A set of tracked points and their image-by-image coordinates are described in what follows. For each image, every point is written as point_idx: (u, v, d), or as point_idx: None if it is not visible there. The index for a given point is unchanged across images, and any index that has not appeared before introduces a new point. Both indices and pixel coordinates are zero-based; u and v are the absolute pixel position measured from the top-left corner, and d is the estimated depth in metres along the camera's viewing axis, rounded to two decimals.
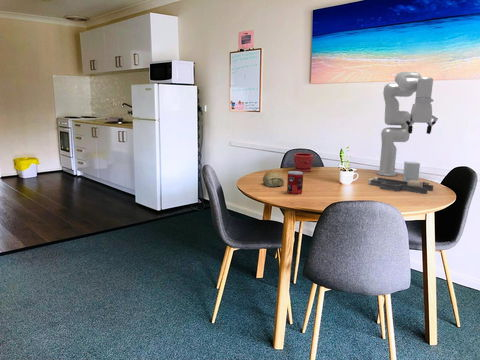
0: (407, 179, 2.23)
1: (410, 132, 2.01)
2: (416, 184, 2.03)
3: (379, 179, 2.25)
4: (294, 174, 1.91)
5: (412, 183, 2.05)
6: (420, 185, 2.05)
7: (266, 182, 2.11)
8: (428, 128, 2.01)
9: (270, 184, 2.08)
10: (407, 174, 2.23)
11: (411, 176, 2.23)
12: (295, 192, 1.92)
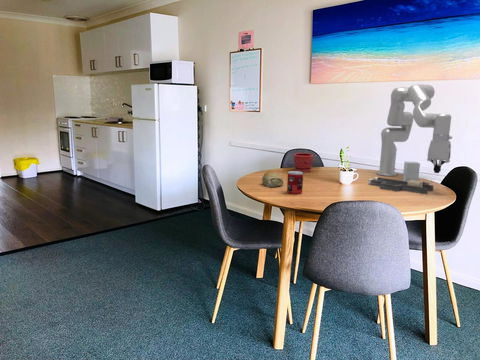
0: (407, 179, 2.23)
1: None
2: (416, 184, 2.03)
3: (379, 179, 2.25)
4: (294, 174, 1.91)
5: (412, 183, 2.05)
6: (420, 185, 2.05)
7: (265, 182, 2.10)
8: None
9: (269, 184, 2.07)
10: (407, 174, 2.23)
11: (411, 176, 2.23)
12: (295, 192, 1.92)
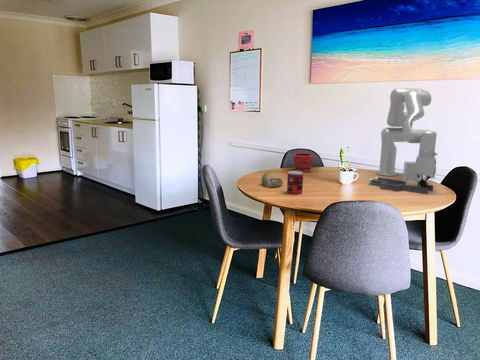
0: (407, 179, 2.23)
1: (420, 186, 2.04)
2: (414, 183, 2.04)
3: (379, 179, 2.25)
4: (294, 174, 1.91)
5: (410, 182, 2.05)
6: (418, 184, 2.05)
7: (265, 182, 2.10)
8: None
9: (269, 184, 2.07)
10: (407, 174, 2.23)
11: (411, 176, 2.23)
12: (295, 192, 1.92)
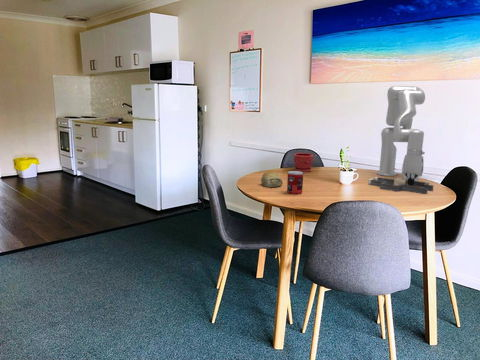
0: None
1: (408, 184, 2.08)
2: (402, 182, 2.08)
3: (379, 179, 2.25)
4: (294, 174, 1.91)
5: (398, 181, 2.09)
6: (406, 183, 2.09)
7: (265, 182, 2.10)
8: None
9: (269, 184, 2.06)
10: None
11: (411, 176, 2.23)
12: (295, 192, 1.92)
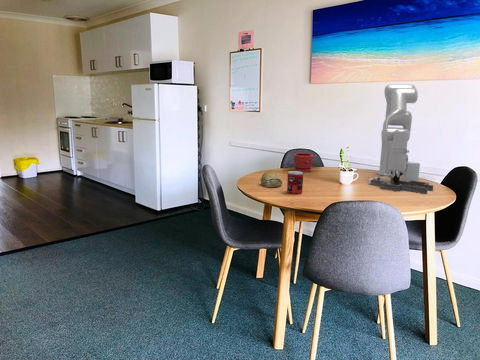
0: (407, 179, 2.23)
1: None
2: (387, 179, 2.14)
3: (379, 179, 2.25)
4: (294, 174, 1.91)
5: (384, 179, 2.15)
6: (391, 180, 2.15)
7: (264, 183, 2.09)
8: None
9: (268, 185, 2.06)
10: (407, 174, 2.23)
11: (411, 176, 2.23)
12: (295, 192, 1.92)
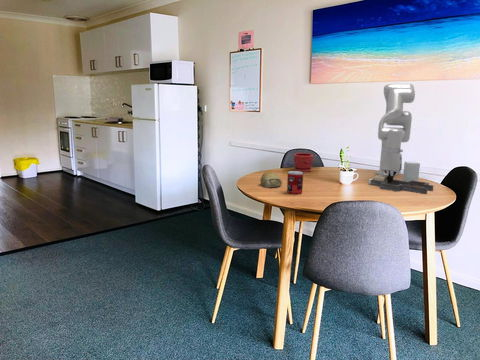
0: (407, 179, 2.23)
1: None
2: (381, 179, 2.16)
3: None
4: (294, 174, 1.91)
5: (378, 178, 2.17)
6: (385, 180, 2.17)
7: (264, 183, 2.09)
8: None
9: (268, 185, 2.06)
10: (407, 174, 2.23)
11: (411, 176, 2.23)
12: (295, 192, 1.92)
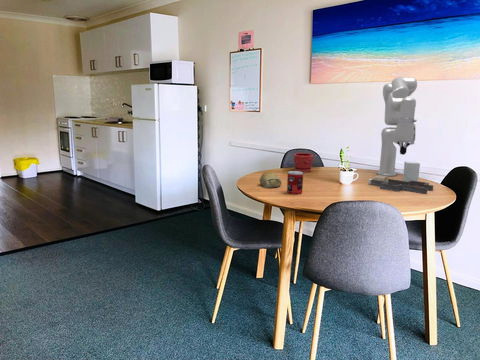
0: (407, 179, 2.23)
1: None
2: (381, 179, 2.16)
3: None
4: (294, 174, 1.91)
5: (378, 178, 2.17)
6: (385, 180, 2.17)
7: (263, 183, 2.08)
8: None
9: (268, 185, 2.05)
10: (407, 174, 2.23)
11: (411, 176, 2.23)
12: (295, 192, 1.92)
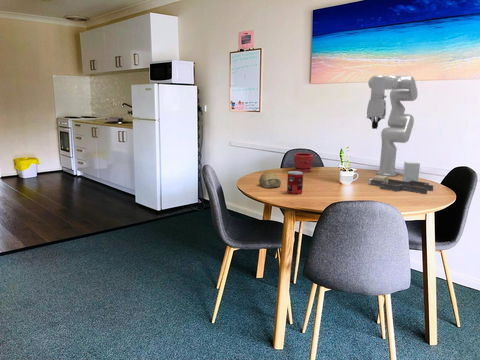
0: (407, 179, 2.23)
1: None
2: (381, 179, 2.16)
3: None
4: (294, 174, 1.91)
5: (378, 178, 2.17)
6: (385, 180, 2.17)
7: (263, 183, 2.08)
8: None
9: (267, 185, 2.05)
10: (407, 174, 2.23)
11: (411, 176, 2.23)
12: (295, 192, 1.92)
